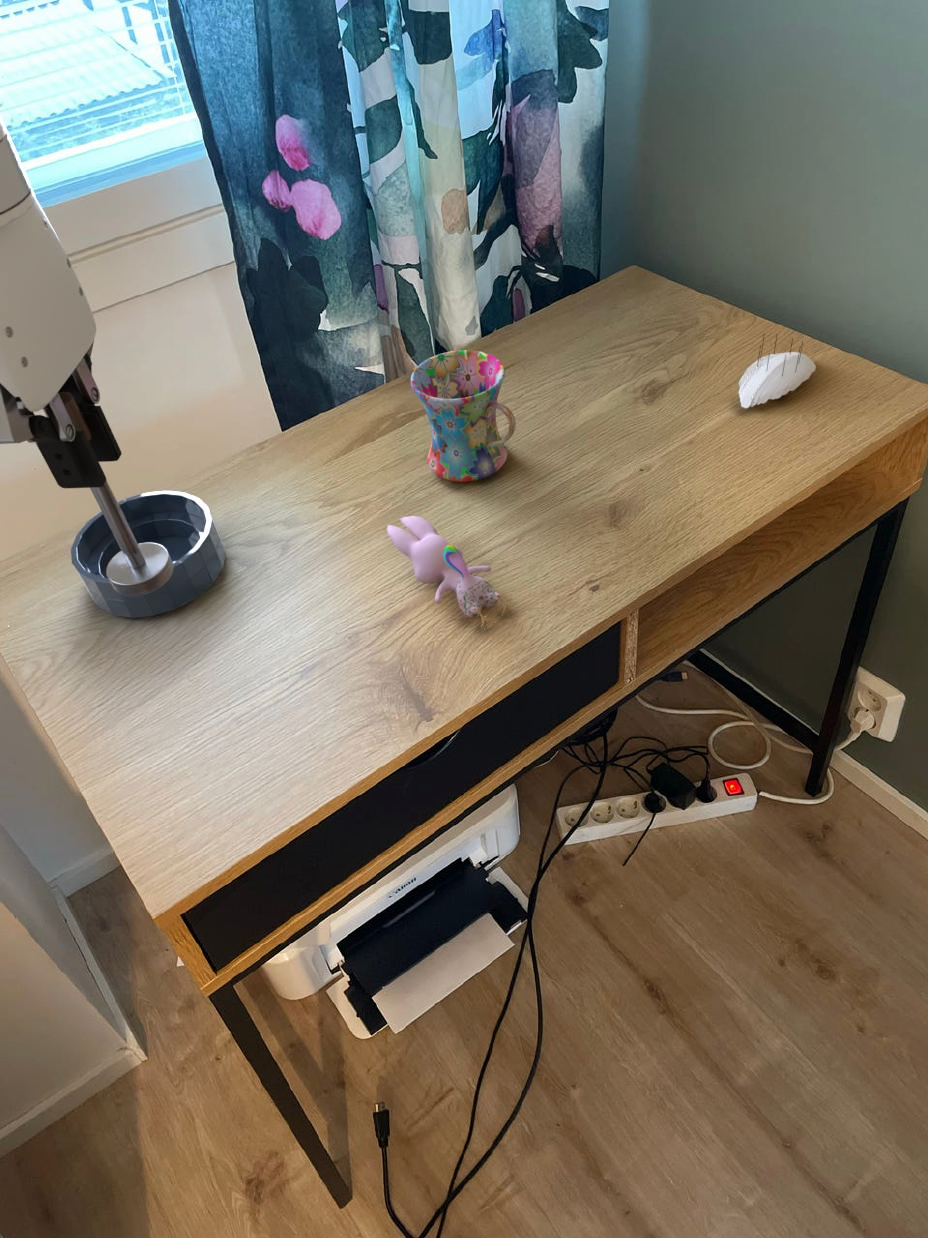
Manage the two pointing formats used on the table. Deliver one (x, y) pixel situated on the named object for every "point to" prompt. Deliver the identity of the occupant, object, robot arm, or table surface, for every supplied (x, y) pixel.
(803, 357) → the pincushion
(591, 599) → the table surface
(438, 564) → the rabbit figure
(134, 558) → the wood-topped metal stand
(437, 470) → the mug
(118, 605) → the bowl
